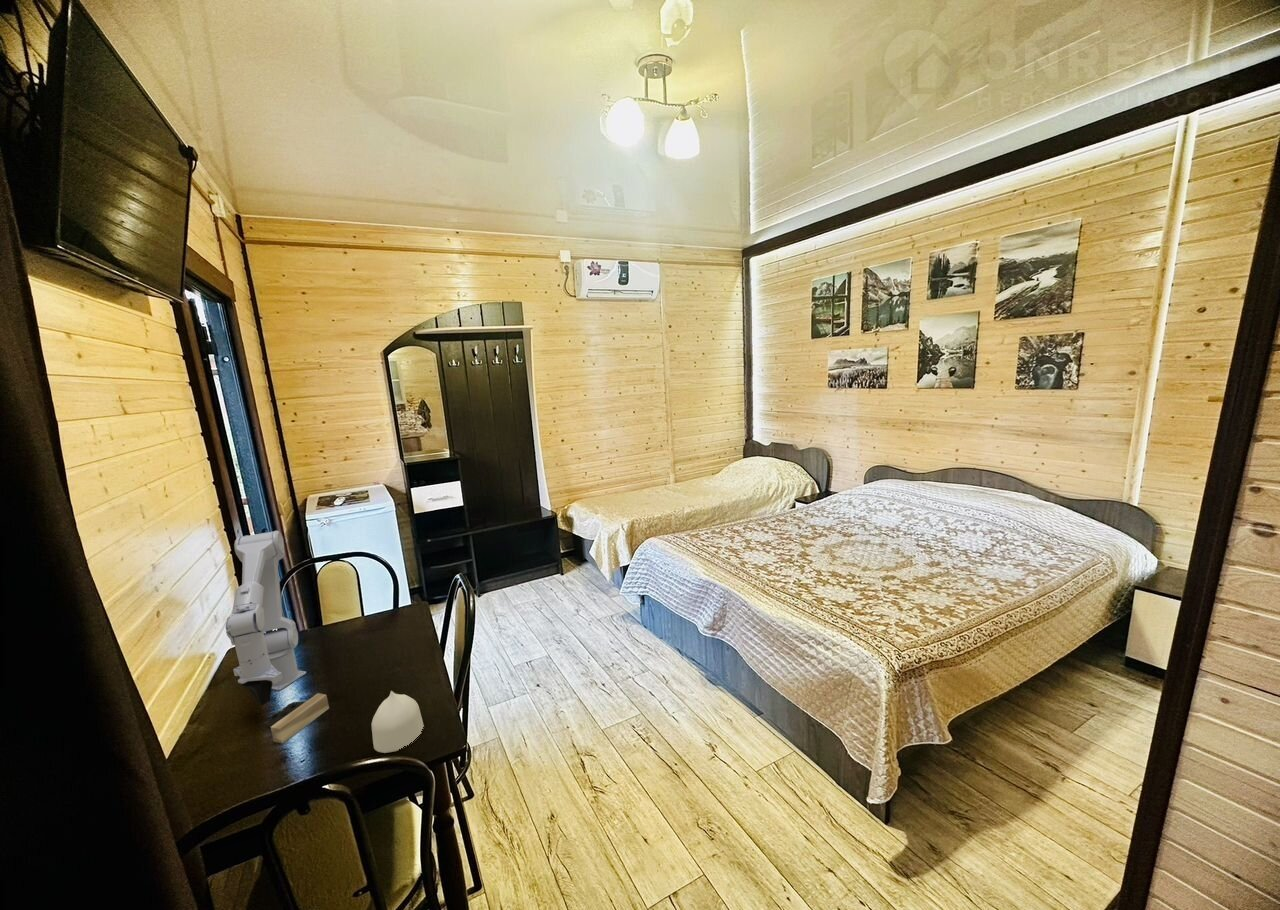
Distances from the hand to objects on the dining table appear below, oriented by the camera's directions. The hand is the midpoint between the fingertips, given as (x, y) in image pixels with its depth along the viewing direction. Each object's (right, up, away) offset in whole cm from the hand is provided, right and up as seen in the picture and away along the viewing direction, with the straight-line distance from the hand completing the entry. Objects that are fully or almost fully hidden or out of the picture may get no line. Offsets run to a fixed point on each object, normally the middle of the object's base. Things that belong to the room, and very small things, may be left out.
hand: (264, 702), depth 118 cm
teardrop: (+39, -3, -8) cm, 40 cm away
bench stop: (+12, -4, -3) cm, 13 cm away
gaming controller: (+8, -4, -1) cm, 9 cm away
